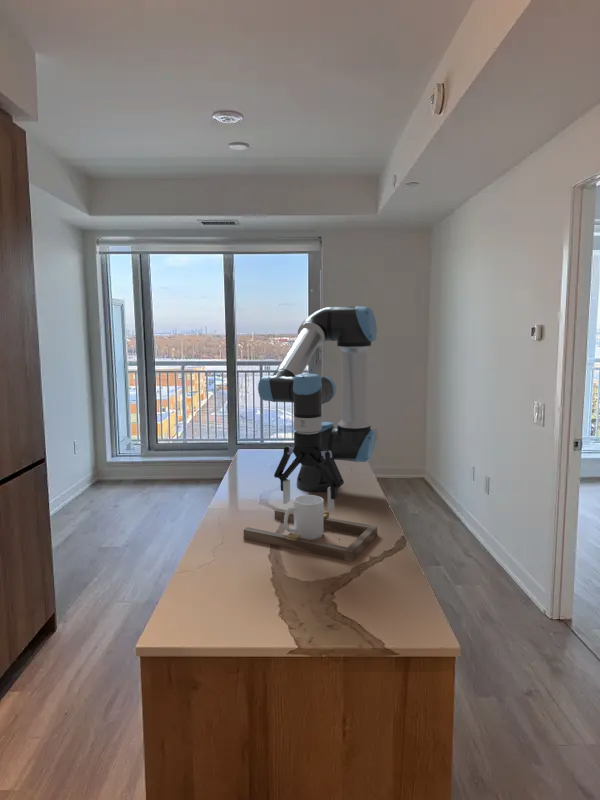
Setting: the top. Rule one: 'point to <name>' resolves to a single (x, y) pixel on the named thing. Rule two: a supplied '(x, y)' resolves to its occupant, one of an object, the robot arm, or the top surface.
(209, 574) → the top surface
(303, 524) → the cup
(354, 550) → the track
